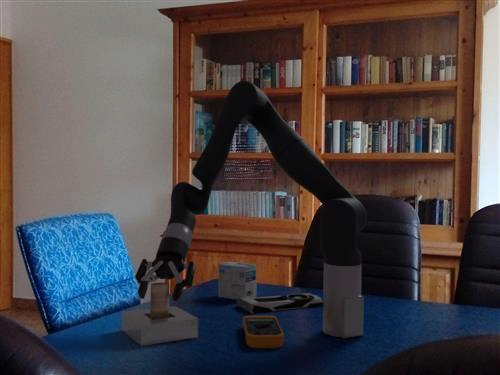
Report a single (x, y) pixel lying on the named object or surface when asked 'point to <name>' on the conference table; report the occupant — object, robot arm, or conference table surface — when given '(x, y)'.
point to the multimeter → (263, 332)
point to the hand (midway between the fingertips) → (157, 298)
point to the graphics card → (279, 303)
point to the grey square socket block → (159, 326)
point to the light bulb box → (237, 280)
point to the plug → (159, 301)
